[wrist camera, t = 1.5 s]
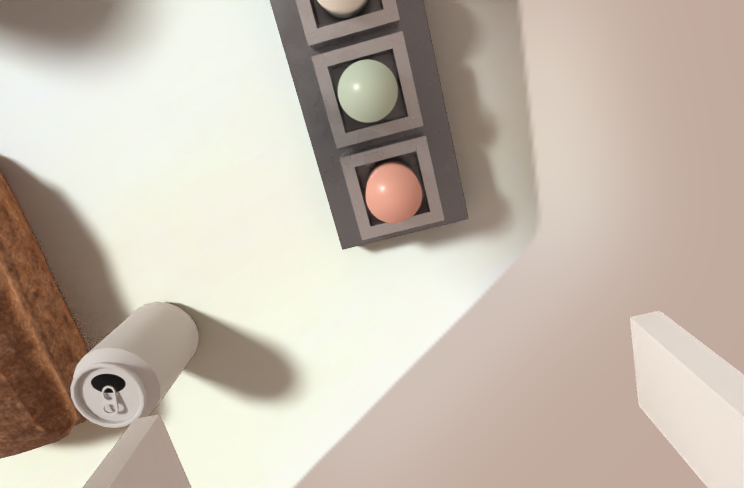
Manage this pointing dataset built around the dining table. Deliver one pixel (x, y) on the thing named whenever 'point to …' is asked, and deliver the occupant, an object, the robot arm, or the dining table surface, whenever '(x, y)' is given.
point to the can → (134, 365)
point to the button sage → (367, 91)
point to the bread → (32, 341)
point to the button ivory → (342, 7)
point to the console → (381, 138)
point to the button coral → (393, 192)
